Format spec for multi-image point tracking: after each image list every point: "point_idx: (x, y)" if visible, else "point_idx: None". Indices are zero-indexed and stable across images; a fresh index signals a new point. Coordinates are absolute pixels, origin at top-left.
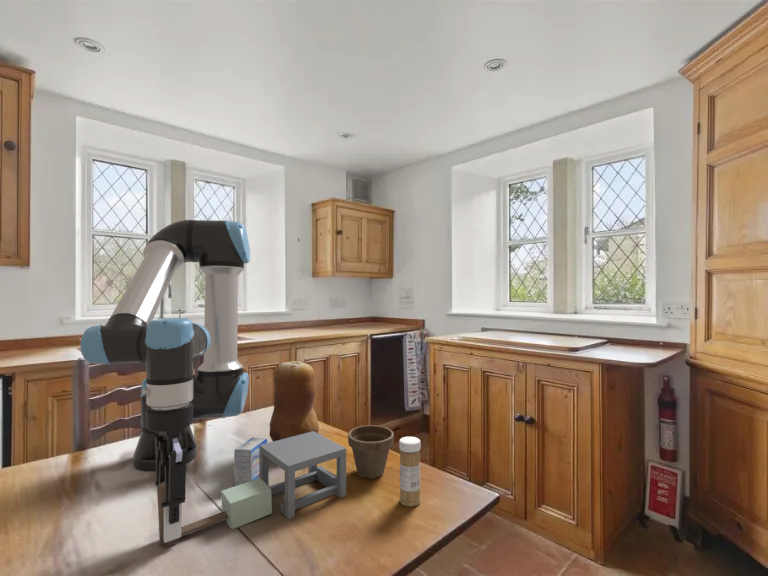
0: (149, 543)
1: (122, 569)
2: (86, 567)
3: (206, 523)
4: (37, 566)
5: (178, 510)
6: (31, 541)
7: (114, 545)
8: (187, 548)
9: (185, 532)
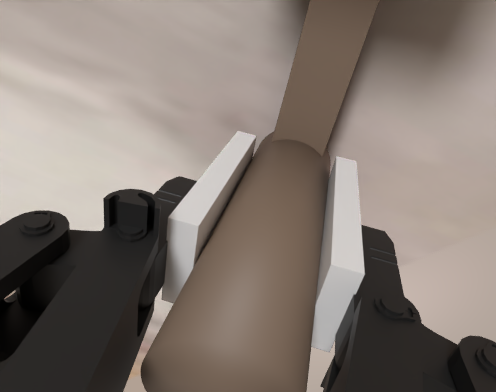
0: None
1: None
2: None
3: (369, 19)
4: (133, 368)
5: (398, 282)
6: None
7: None
8: (400, 142)
9: (332, 127)
